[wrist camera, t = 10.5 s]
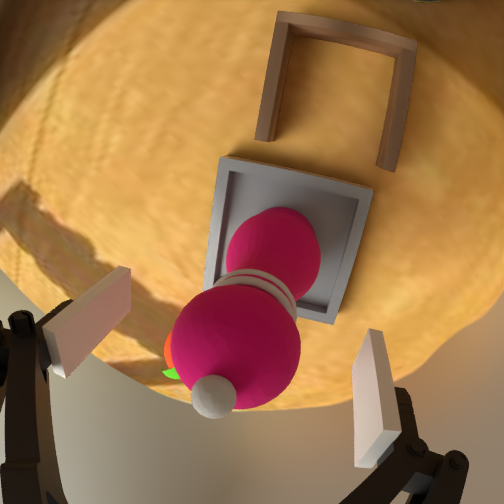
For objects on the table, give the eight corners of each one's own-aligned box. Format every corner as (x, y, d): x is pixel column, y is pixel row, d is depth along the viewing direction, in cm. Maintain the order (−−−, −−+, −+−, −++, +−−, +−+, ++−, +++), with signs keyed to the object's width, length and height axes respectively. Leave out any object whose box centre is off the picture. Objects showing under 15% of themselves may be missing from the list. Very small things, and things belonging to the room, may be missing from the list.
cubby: (262, 139, 27) (254, 139, 24) (283, 24, 23) (277, 10, 20) (386, 167, 25) (394, 172, 22) (407, 51, 21) (417, 41, 18)
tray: (208, 282, 33) (202, 291, 31) (226, 155, 28) (219, 156, 26) (333, 314, 31) (333, 324, 30) (370, 186, 26) (373, 190, 25)
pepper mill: (338, 243, 28) (347, 428, 10) (280, 291, 31) (219, 476, 13) (281, 183, 27) (188, 290, 9) (226, 238, 30) (96, 383, 12)
